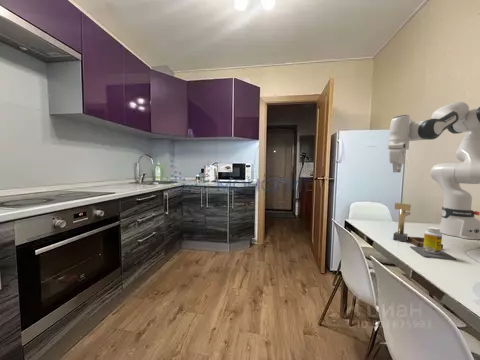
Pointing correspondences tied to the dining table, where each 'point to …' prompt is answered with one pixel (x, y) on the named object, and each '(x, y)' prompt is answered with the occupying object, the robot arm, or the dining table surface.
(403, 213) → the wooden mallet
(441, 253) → the rubber mat
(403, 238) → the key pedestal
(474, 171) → the robot arm
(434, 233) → the supplement bottle
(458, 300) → the dining table surface
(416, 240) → the cup collar
